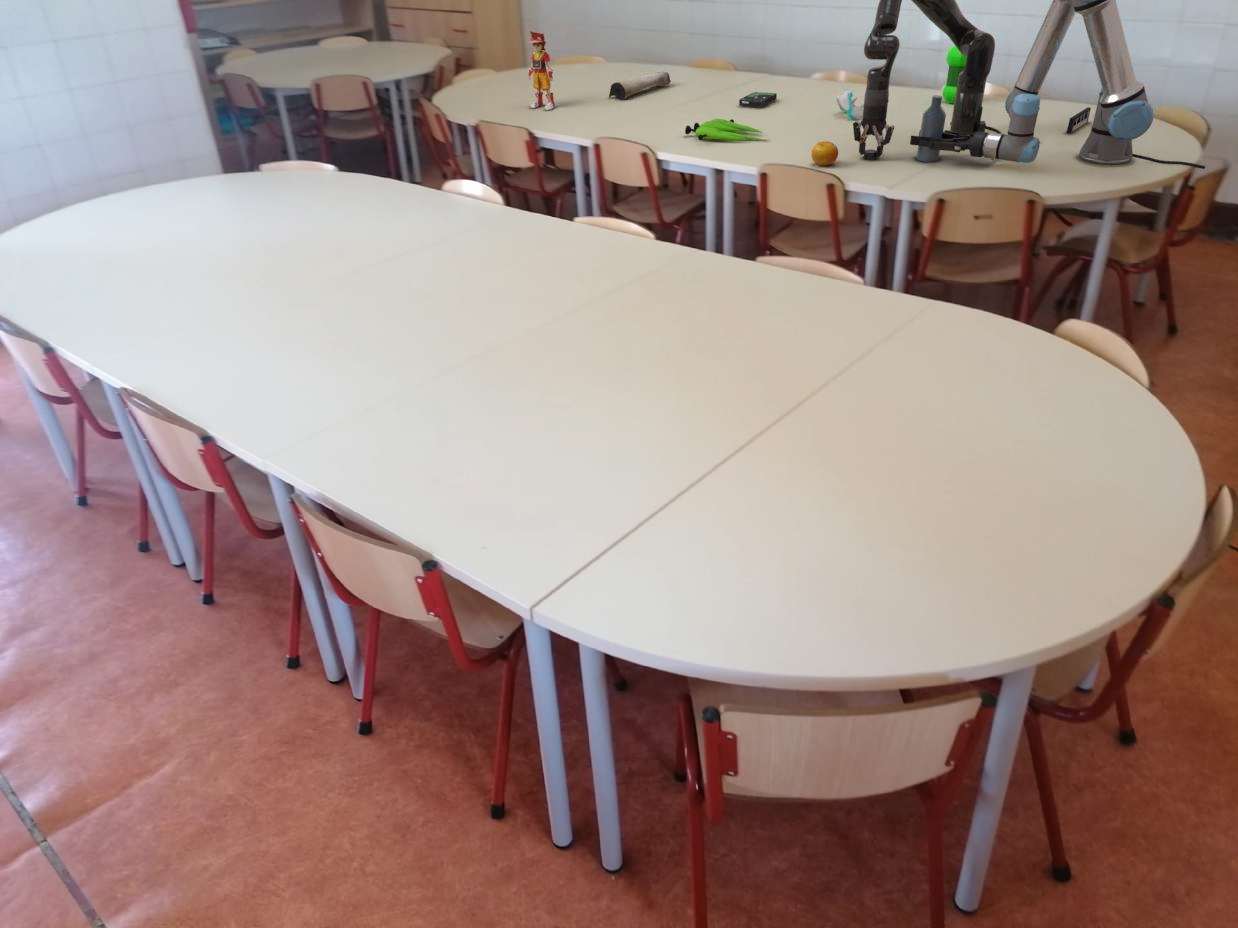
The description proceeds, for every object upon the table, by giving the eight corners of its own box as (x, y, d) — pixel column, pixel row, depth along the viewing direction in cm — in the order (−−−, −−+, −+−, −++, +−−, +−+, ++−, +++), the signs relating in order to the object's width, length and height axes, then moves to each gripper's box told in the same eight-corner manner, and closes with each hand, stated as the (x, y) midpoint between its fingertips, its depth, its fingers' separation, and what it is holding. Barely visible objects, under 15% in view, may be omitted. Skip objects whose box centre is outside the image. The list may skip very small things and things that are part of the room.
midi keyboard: (1070, 133, 311) (1073, 118, 308) (1066, 133, 312) (1069, 118, 309) (1087, 122, 322) (1091, 107, 319) (1084, 121, 322) (1087, 107, 319)
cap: (868, 156, 303) (868, 148, 301) (879, 158, 300) (879, 150, 299) (861, 159, 300) (861, 151, 299) (872, 161, 298) (872, 153, 296)
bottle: (931, 163, 293) (942, 100, 281) (912, 159, 297) (921, 97, 285) (942, 158, 297) (953, 95, 285) (922, 154, 301) (932, 92, 289)
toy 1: (525, 109, 381) (517, 32, 364) (534, 104, 388) (527, 28, 371) (550, 110, 377) (543, 32, 360) (559, 105, 384) (553, 28, 367)
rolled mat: (651, 76, 408) (662, 61, 399) (662, 93, 408) (674, 79, 400) (605, 92, 391) (616, 77, 383) (617, 110, 391) (628, 95, 383)
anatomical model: (831, 89, 347) (857, 82, 346) (834, 116, 353) (859, 109, 352) (842, 98, 335) (869, 91, 334) (845, 126, 341) (871, 118, 340)
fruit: (804, 156, 294) (819, 134, 291) (809, 158, 302) (823, 137, 299) (825, 170, 293) (840, 148, 290) (829, 172, 300) (844, 151, 297)
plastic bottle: (973, 101, 354) (984, 32, 339) (955, 106, 349) (966, 36, 335) (952, 97, 361) (962, 29, 346) (934, 102, 356) (944, 33, 342)
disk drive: (762, 109, 362) (776, 100, 372) (762, 101, 360) (777, 93, 370) (738, 106, 367) (753, 98, 377) (738, 99, 365) (754, 91, 375)
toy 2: (674, 138, 327) (749, 153, 315) (675, 124, 324) (751, 138, 312) (709, 126, 347) (780, 139, 335) (710, 112, 345) (782, 125, 332)
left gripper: (850, 102, 292) (845, 155, 301) (891, 107, 284) (885, 161, 294) (861, 97, 296) (856, 150, 306) (901, 102, 288) (895, 156, 298)
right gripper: (973, 165, 280) (902, 156, 291) (993, 149, 293) (924, 141, 304) (978, 141, 275) (905, 133, 287) (997, 125, 288) (927, 118, 300)
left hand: (870, 155), depth 300 cm, fingers open, 5 cm apart
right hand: (915, 137), depth 295 cm, fingers closed on bottle, 7 cm apart
